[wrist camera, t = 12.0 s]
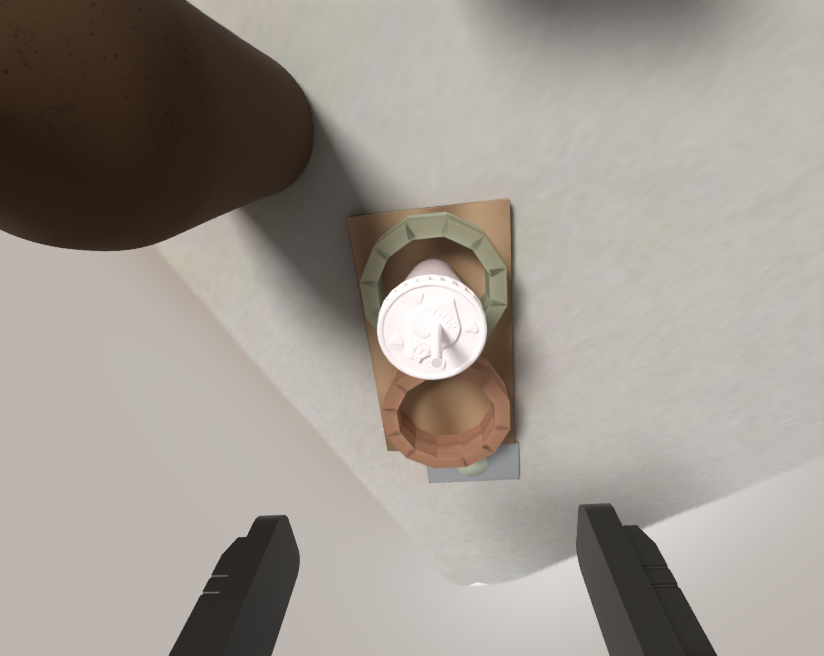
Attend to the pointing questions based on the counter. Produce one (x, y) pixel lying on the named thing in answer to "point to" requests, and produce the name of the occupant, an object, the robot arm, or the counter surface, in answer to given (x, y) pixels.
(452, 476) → the card
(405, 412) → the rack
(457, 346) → the smoothie
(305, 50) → the counter surface
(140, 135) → the olive oil
